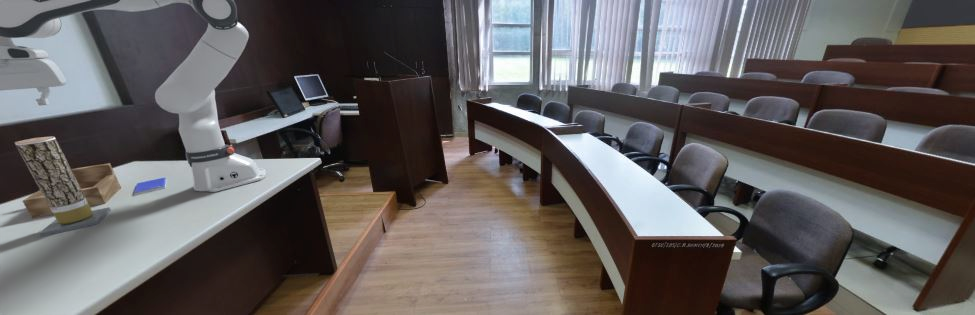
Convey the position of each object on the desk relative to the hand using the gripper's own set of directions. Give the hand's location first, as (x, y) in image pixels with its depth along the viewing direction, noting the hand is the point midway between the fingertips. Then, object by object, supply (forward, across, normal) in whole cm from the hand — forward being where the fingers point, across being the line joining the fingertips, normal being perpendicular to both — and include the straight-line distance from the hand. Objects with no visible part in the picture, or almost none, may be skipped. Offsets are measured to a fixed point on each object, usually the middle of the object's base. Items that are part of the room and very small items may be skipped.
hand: (17, 107), depth 86 cm
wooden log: (+34, 0, 0) cm, 34 cm away
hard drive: (+36, +12, +24) cm, 44 cm away
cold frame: (+35, -6, +22) cm, 42 cm away
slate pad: (+35, 0, 0) cm, 35 cm away
